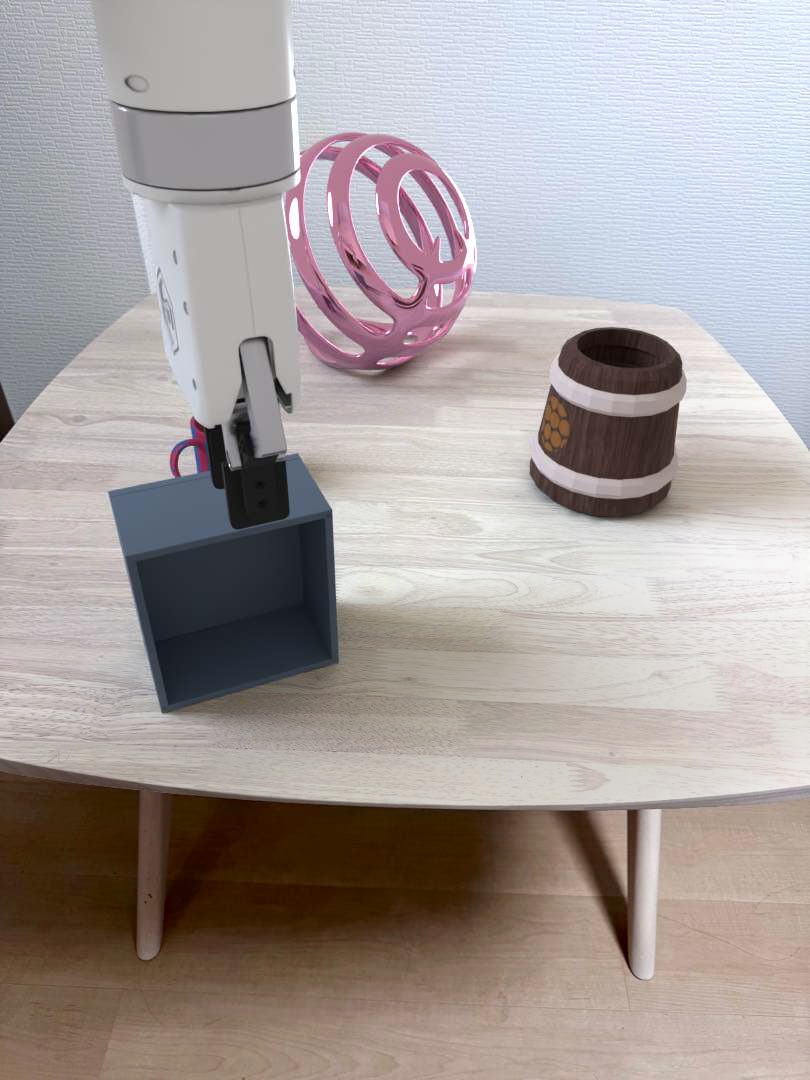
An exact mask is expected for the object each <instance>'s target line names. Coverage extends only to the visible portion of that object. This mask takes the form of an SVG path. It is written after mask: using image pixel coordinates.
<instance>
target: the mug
mask: <svg viewBox="0 0 810 1080" xmlns="http://www.w3.org/2000/svg"><path fill="white" fill-rule="evenodd" d="M548 373H549V374H548V376H549V378H548V379H549V382H550V386H549V391H548V393H547V397H546V402H545V406H544V410H543V413H542V417H541V421H540V425H539V426H538V428H537V429H536V431H535V432H534V434H533V435H532V438H531V440H530V443H529V445H530V446H529V456H530V461H529V476H530V478H531V479H532V481H533V483H534V485H535V486H536V487H537V488H538V490H539V491H541V493H543V494H544V495H545V496H547V497H548V498H549V499H550V500H552V501H553V502H554V503H557V504H559V505H560V506H562V507H565V508H567V509H568V510H569V509H570V510H571V511H575V512H578V513H582V514H586V515H589V516H599V517H608V518H609V517H610V518H614V517H625V516H633V515H636V514H639V513H641V512H644V511H647V510H650V509H652V508H654V507H657V506H658V505H659V504H660V503H661V502H663V501H664V500H665V499H667V498H668V494H669V492H670V489H671V487H672V481H673V479H674V478H675V475H676V474H677V470H678V467H679V457H678V453H677V449H676V446H675V445H676V437H677V430H678V429H677V428H678V421H679V420H678V419H679V411H680V403H681V401H683V399H684V397H685V394H686V392H687V384H688V383H687V381H688V379H687V375H686V373H685V370H684V369H683V360H682V357H681V354H680V353H679V351H677V350H676V349H675V348H674V347H673V345H671V344H670V343H669V342H668V341H667V340H665V339H663V338H661V337H659V336H658V335H655V334H652V333H649V332H647V331H643V330H639V329H634V328H629V327H618V326H617V327H616V326H606V327H595V328H591V329H586V330H583V331H581V332H579V333H577V334H575V335H573V336H572V337H570V338H568V339H567V340H566V341H565V343H564V344H563V345H562V347H561V350H560V352H559V353H558V354H556V356H555V358H554V359H553V360H552V361H551V365H550V367H549V371H548Z"/></svg>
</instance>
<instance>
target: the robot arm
mask: <svg viewBox="0 0 810 1080" xmlns="http://www.w3.org/2000/svg"><path fill="white" fill-rule="evenodd" d="M8 1H9V0H0V6H1V5H3V4H5V3H6V2H8ZM90 2H91V8H92V14H93V21H94V25H95V31H96V37H97V42H98V46H99V53H100V59H101V64H102V65H101V66H102V70H103V71H102V72H103V75H104V77H103V78H104V81H105V87H106V92H107V97H108V105H109V111H110V117H111V122H112V127H113V133H114V138H115V145H116V150H117V156H118V162H119V168H120V174H121V178H122V183H123V187H124V189H125V190H126V191H127V192H129V193H130V194H132V195H136V196H138V197H139V198H142V199H145V200H146V201H145V203H146V213H147V225H148V232H149V233H148V234H149V242H150V248H151V249H150V250H151V256H152V264H153V271H154V278H155V279H154V280H155V286H156V293H157V300H158V310H159V318H160V325H161V326H160V327H161V333H162V341H163V348H164V352H165V356H166V359H167V362H168V364H169V366H170V369H171V371H172V374H173V376H174V379H175V380H176V382H177V383H176V384H177V385H178V387H179V390H180V392H181V394H182V396H183V398H184V400H185V402H186V404H187V406H188V409H189V410H190V412H191V415H192V417H193V416H194V418H195V419H196V421H197V422H199V423H200V424H201V425H203V426H204V433H205V440H206V446H207V453H208V460H209V467H210V474H211V480H212V483H213V485H214V487H215V488H216V489H225V495H226V502H227V510H228V517H229V522H230V524H231V526H232V528H234V529H236V530H238V529H243V528H248V527H252V526H257V525H261V524H265V523H270V522H274V521H279V520H283V519H286V518H287V517H288V516H289V514H290V508H289V495H288V483H287V471H286V458H285V456H286V454H287V452H288V446H287V440H286V439H287V438H286V434H285V430H284V424H283V421H282V415H281V414H282V413H281V408H282V409H283V410H284V411H285V412H286V413H287V414H289V415H291V414H293V413H294V412H295V411H296V410H297V409H298V408H299V405H300V403H301V399H302V373H301V372H302V371H301V367H302V366H301V351H300V350H301V349H300V338H299V331H298V324H297V314H296V305H297V303H296V293H295V285H294V278H293V277H294V275H293V268H292V267H293V266H292V259H291V257H292V256H291V250H290V242H289V240H288V233H287V226H286V218H285V203H284V197H283V194H284V193H286V192H287V191H289V190H291V189H293V188H294V187H295V186H297V185H298V184H299V182H300V179H301V174H300V154H299V152H300V138H299V136H300V135H299V120H298V119H299V118H298V100H297V99H298V98H297V94H296V93H297V83H296V73H295V49H294V30H293V14H292V13H293V12H292V0H90Z"/></svg>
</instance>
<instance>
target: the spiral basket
mask: <svg viewBox="0 0 810 1080" xmlns="http://www.w3.org/2000/svg"><path fill="white" fill-rule="evenodd" d="M343 142H348V143H346V145H344V146H343V147H340V146H334V145H335V144H337V143H343ZM371 149H375V150H377V151H380V152H381V153H383V154H385V155H386V156H387V157H389V159H388V160H387V161H385V163H384V165H383V166H381V165H380V164H378V163H376V162H375V161H374V160H372V159H371V158H368V157H366V156H365V153H366V152H368V151H369V150H371ZM403 149H404V150H405V151H406V152H405V151H404V150H403ZM299 154H300V174H301V179H300V182H299V184H298V185H297V186H295V187H294V188H293V189H291V190H289V191H287V192H285V201H284V211H285V218H286V226H287V233H288V240H289V242H290V254H291V257H292V259H293V262H294V265H295V268H296V270H297V272H298V275H299V277H300V279H301V281H302V283H303V285H304V286H305V287H304V288H306V290H307V292H308V294H309V295H310V297H311V299H312V301H314V303H315V305H316V306H317V309H319V310H320V311H321V312H322V314H323V315H324V316H325V317H326V319H327V320H329V322H330V323H331V324H332V325H333V326H334V327H335V328H336V329H338V331H339V332H341V333H342V334H343V335H344V336H346V337H347V338H348V339H349V340H351V341H352V342H354V343H356V344H357V345H359V346H360V347H361V348H362V349H364V351H363V352H362V353H358V354H352V353H348V352H346V351H344V350H342V349H341V348H339V347H337V346H336V345H334V343H332V342H330V341H329V340H328V339H327V338H326V337H325V336H323V335H322V334H321V333H320V332H319V331H318V330H317V329H316V328H315V327H314V326H313V324H312V323H311V322H310V321H309V320H308V319H307V318H306V315H305V313H304V312H303V311H302V310H301V309H300V308H299V306H298V305H297V304H296V314H297V324H298V333H299V334H300V335H301V336H302V337H303V339H304V341H305V344H306V346H307V347H308V349H309V351H310V352H311V353H312V355H313V356H314V357H315V358H316V359H317V360H319V361H320V362H322V363H324V364H325V365H327V366H329V367H332V368H335V369H340V370H351V371H383V370H384V371H385V370H389V369H394V368H397V367H399V366H402V365H404V364H407V363H408V362H410V361H411V360H413V359H414V358H415V357H417V356H418V355H419V354H422V353H425V352H426V351H428V350H430V349H432V348H433V347H435V346H436V345H437V344H438V343H440V341H442V340H443V339H444V338H445V337H446V336H447V335H448V333H449V332H450V331H451V329H452V328H453V326H454V325H455V323H456V321H457V319H458V318H459V316H460V315H461V313H462V311H463V310H464V308H465V306H466V304H467V302H468V300H469V298H470V296H471V293H472V290H473V287H474V282H475V278H476V270H477V244H476V238H475V237H476V236H475V232H474V225H473V221H472V216H471V214H470V210H469V207H468V204H467V202H466V200H465V198H464V196H463V194H462V192H461V191H460V189H459V187H458V186H457V183H455V181H454V180H453V179H452V177H451V176H450V175H449V173H448V172H446V171H445V169H443V168H442V167H441V166H440V164H439V163H438V162H437V161H436V160H435V159H434V158H433V157H431V155H429V154H428V153H427V152H425V151H424V150H423V149H422V148H420V147H418V145H416V144H414V143H413V142H412V143H411V142H410V141H408V140H406V139H403V138H401V137H398V136H395V135H390V134H386V133H366V132H357V131H348V132H339V133H334V134H331V135H329V136H325V137H324V138H321V139H319V140H317V141H316V142H315V143H313V144H312V145H311V146H309V147H308V148H307V149H303V150H301V151H299ZM319 160H320V161H330V162H333V163H332V165H331V168H330V171H329V174H328V179H327V184H326V213H327V218H328V219H327V220H328V224H329V230H330V233H331V237H332V239H333V243H334V245H335V248H336V251H337V254H338V255H339V258H340V259H341V262H342V263H343V266H344V267H345V270H346V271H347V272H348V273H347V274H349V276H350V277H351V279H352V280H353V282H354V283H355V285H356V286H357V288H358V289H359V290H360V291H361V293H362V294H363V295H364V296H365V297H366V298H367V299H368V300H369V301H370V302H371V303H372V304H373V305H374V306H375V307H377V308H378V310H380V311H381V312H383V313H385V314H386V315H387V316H388V317H390V318H391V320H392V321H393V322H380V321H372V320H367V319H361V318H357V317H354V316H353V314H351V312H349V311H348V310H347V308H346V307H344V305H343V304H342V302H341V301H340V300H339V299H338V298H337V296H336V295H335V294H334V292H333V290H332V289H331V287H330V286H329V285H328V283H327V281H326V279H325V277H324V275H323V274H322V272H321V270H320V268H319V265H318V263H317V261H316V258H315V255H314V253H313V249H312V247H311V243H310V240H309V236H308V231H307V225H306V219H305V191H306V185H307V181H308V177H309V174H310V171H311V170H312V167H313V165H314V163H315V162H316V161H319ZM354 171H357V172H358V173H360V174H362V175H363V176H365V177H366V178H367V179H369V180H370V181H371V182H372V183H374V184H375V194H374V195H375V196H374V197H375V209H376V215H377V219H378V222H379V225H380V228H381V231H382V233H383V236H384V238H385V240H386V242H387V244H388V246H389V247H390V249H391V250H392V252H393V254H394V255H395V256H396V258H397V259H398V260H399V262H400V263H401V264H402V265H403V266H404V267H405V268H406V269H407V270H408V271H409V272H410V273H411V274H414V276H415V277H417V279H418V284H417V287H416V289H415V291H414V293H413V294H412V295H411V296H410V297H409V298H405V297H403V296H401V295H399V294H398V293H397V292H396V291H395V290H393V289H392V287H390V286H389V285H388V284H387V283H386V282H385V281H384V280H383V278H382V277H381V276H380V275H379V274H378V272H377V271H376V269H375V268H374V267H373V265H372V264H371V262H370V261H369V258H368V257H367V255H366V253H365V252H364V249H363V247H362V245H361V243H360V240H359V238H358V235H357V232H356V229H355V226H354V221H353V217H352V211H351V202H350V199H351V198H350V197H351V196H350V195H351V194H350V193H351V182H352V177H353V174H354ZM408 174H409V175H410V176H411V178H412V179H413V180H414V181H415V182H416V183H417V184H418V186H419V187H420V188H421V189H422V191H423V193H424V194H425V195H426V197H427V199H428V200H429V202H430V203H431V205H432V207H433V209H434V210H435V212H436V214H437V216H438V218H439V221H440V223H441V226H442V228H443V230H444V233H445V236H446V239H447V243H448V246H449V250H450V254H451V255H450V256H451V259H449V260H445V261H444V260H443V261H442V260H441V237H440V235H437V236H436V238H435V239H433V236H432V233H431V231H430V229H429V227H428V225H427V222H426V221H425V219H424V216H423V215H422V213H421V211H420V210H419V208H418V207H417V205H416V203H415V202H414V200H413V199H412V198H411V196H410V195H409V193H408V192H407V191H406V190H405V188H404V187H403V186H402V185H401V184H402V182H403V179H404V178H405V177H406V176H407V175H408ZM429 174H431V175H433V176H434V177H435V178H437V179H438V180H439V181H440V182H441V184H442V186H443V187H444V188H445V190H446V192H447V193H448V195H449V196H450V198H451V200H452V202H453V204H454V206H455V208H456V211H457V213H458V216H459V218H460V220H461V221H460V222H461V223H462V227H463V234H462V232H461V231H459V229H458V226H457V223H456V221H455V218H454V216H453V213H452V211H451V209H450V207H449V205H448V203H447V201H446V199H445V197H444V196H443V194H442V192H441V190H440V188H438V186H437V185H436V183H435V181H433V179H432V177H430V175H429ZM402 217H403V218H402ZM403 219H404V221H405V222H406V223H407V225H408V227H409V229H410V231H411V233H412V235H413V237H414V240H415V241H414V240H413V238H412V237H411V236H410V235H411V234H410V233H409V232H408V230H407V228H406V226H405V223H404V221H403ZM415 242H416V243H415ZM452 283H453V296H452V299H451V302H450V303H448V304H446V305H443V285H448V284H452ZM405 338H416V339H415V341H414V342H412V343H411V342H405ZM389 358H395V359H393V360H388V361H382V360H384V359H385V360H386V359H389Z"/></svg>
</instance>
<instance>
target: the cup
mask: <svg viewBox="0 0 810 1080" xmlns="http://www.w3.org/2000/svg"><path fill="white" fill-rule="evenodd" d="M189 425H190V432H191V438H187V439H184V440H181V441H180V442H178V443H177V444H176V445H174V447H173V448H172V450H171V452H170V455H169V468H170V472H171V473H172V476H173V478H177V477H182V475H181V473H180V469H179V459H180V455H181V453H182V452H183V451H184V450H185V449H187V448H189V447H193V451H194V459H195V462H196V463H195V465H196V471H197V473H201V472H206V471H210V467H209V460H208V453H207V446H206V440H205V433H204V426H203V425H201V424H200V423H199V422H197V421H196V419H195V418H194V416H193V415H192V417H191V418H190V421H189Z"/></svg>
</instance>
